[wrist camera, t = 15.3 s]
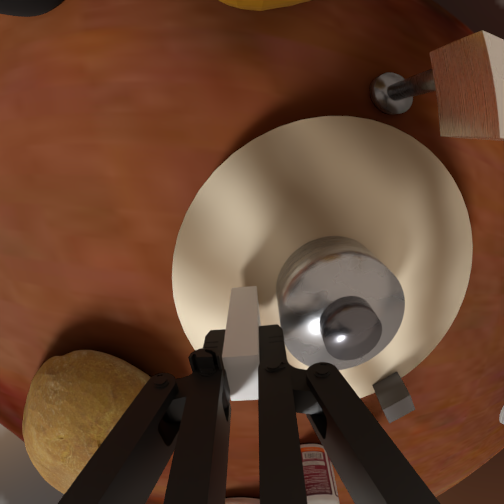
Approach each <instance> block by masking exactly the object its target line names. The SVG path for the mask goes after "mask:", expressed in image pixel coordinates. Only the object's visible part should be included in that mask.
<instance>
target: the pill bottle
mask: <svg viewBox="0 0 504 504" xmlns="http://www.w3.org/2000/svg"><path fill="white" fill-rule="evenodd" d="M300 448H301V456H302V464H303V471H304V479H305V487H306V496H307V504H339V497H338V492H337V487H336V482H335V477H334V473H333V468H332V463H331V460H330V458H329V456H328V454H327V453H326V451H325V449H324V447H323V446H322V445H319V444H302V445H300Z"/></svg>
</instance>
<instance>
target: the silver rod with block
mask: <svg viewBox="0 0 504 504" xmlns="http://www.w3.org/2000/svg"><path fill="white" fill-rule="evenodd" d="M429 53H430V58H431V64H432V69H430V70H427V71H425V72H422V73H419V74H417V75H414V76H412V77H409V78H407V79H404V78H403V77H402V76H400V75H398V74H396V73H384V74H382V75H380V76H378V77H377V78H375V79H374V80H373V81H372V83H371V86H370V97H371V100H372V102H373V103H374V105H375V106H376V107H377V108H378V109H379V110H380V111H381V112H383V113H386V114H389V115H394V114H400V113H404V112H406V111H407V110H408V109H409V108H410V107H411V105H412V101H413V96H417V95H421V94H425V93H429V92H433V91H436V96H437V104H438V114H439V125H440V136H446V137H455V138H466V139H486V140H500V141H504V40H503V39H501V38H498V37H496V36H494V35H492V34H490V33H487V32H485V31H479V32H477V33H474V34H472V35H469V36H467V37H464V38H462V39H459V40H457V41H455V42H452V43H450V44H447V45H445V46H443V47H441V48H438V49H436V50H434V51H432V52H429Z"/></svg>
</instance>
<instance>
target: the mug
mask: <svg viewBox="0 0 504 504" xmlns="http://www.w3.org/2000/svg"><path fill="white" fill-rule="evenodd" d="M63 1H64V0H0V14H6V15H13V16H24V17H30V16H37V15H41V14H44V13H46V12H48V11H50V10H52V9H53V8H55V7H56V6H58V5H59V4H60V3H61V2H63Z"/></svg>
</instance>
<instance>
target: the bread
mask: <svg viewBox="0 0 504 504" xmlns="http://www.w3.org/2000/svg"><path fill="white" fill-rule="evenodd" d="M150 378H151V377H150V376H149V375H148V374H146V373H144V372H143V371H141V370H139V369H138V368H136V367H135V366H133V365H131V364H129V363H128V362H126V361H124V360H122V359H120V358H118V357H115V356H112V355H110V354H107V353H103V352H99V351H94V350H77V351H73V352H71V353H68V354H65V355H63V356H54V357H52V358H49V359H48V360H47V361H46V362H45V363H43V365H42V366H41V368H40V369H39V370H38V371H37V373H36V374H35V375H34V377H33V379H32V382H31V386H30V390H29V393H28V395H27V400H26V404H25V408H24V415H23V422H22V427H23V437H24V441H25V446H26V449H27V453H28V455H29V457H30V459H31V461H32V463H33V465H34V466H35V467H36V469H37V470H38V471H39V473H40V474H41V476H42V477H43V478H44V479H45V480H46V481H47V482H48V483H49V484H50V485H52V486H53V487H54V488H56V489H57V490H59V491H60V492H62V493H63V494H65V493H66V492H67V490H68V489H69V487H70V486H71V485H72V483H73V482H74V481H75V479H76V478H77V476H78V475H79V474H80V472H81V471H82V470H83V468H84V467H85V466H86V464H87V463H88V461H89V460H90V459H91V457H92V456H93V455H94V453H95V452H96V450H97V449H98V448H99V446H100V445H101V444H102V442H103V441H104V440H105V438H106V437H107V436H108V434H109V433H110V431H111V430H112V429H113V427H114V426H115V425H116V423H117V422H118V421H119V419H120V418H121V417H122V415H123V414H124V412H125V411H126V410H127V408H128V407H129V406H130V404H131V403H132V402H133V400H134V399H135V398H136V396H137V395H138V394H139V392H140V391H141V389H142V388H143V387H144V385H145V384H146V383H147V381H148V380H149V379H150Z"/></svg>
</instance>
